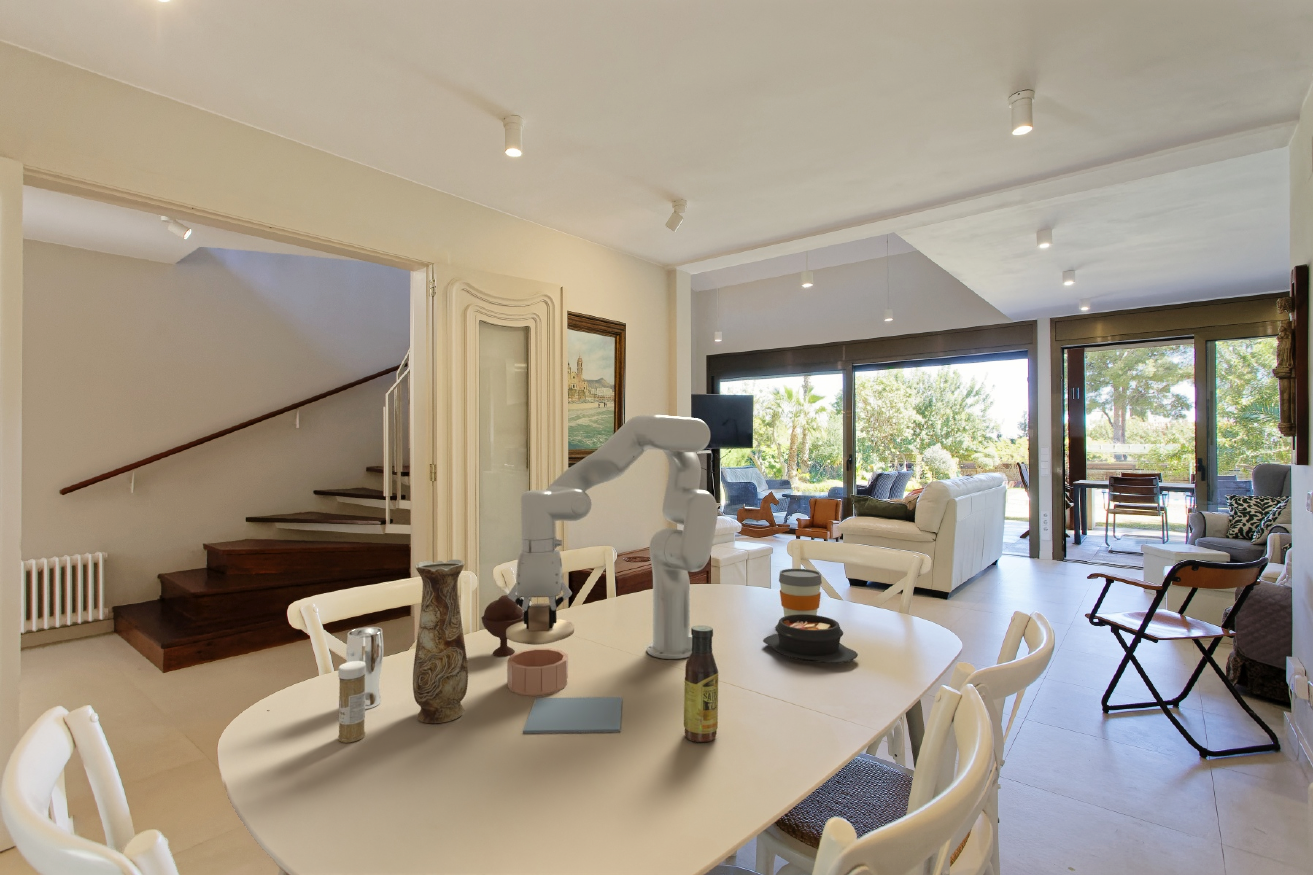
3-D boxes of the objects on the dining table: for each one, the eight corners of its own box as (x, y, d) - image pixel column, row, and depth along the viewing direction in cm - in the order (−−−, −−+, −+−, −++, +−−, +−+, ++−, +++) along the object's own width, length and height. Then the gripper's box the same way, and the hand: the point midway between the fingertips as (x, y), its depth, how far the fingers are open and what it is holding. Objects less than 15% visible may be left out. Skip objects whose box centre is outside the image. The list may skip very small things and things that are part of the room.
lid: (577, 626, 150) (576, 596, 150) (570, 647, 135) (570, 614, 135) (513, 627, 150) (512, 598, 150) (499, 649, 135) (499, 616, 135)
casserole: (747, 649, 166) (747, 617, 166) (792, 635, 178) (792, 605, 178) (829, 677, 147) (829, 640, 147) (872, 659, 159) (873, 625, 159)
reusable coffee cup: (794, 614, 199) (794, 566, 199) (829, 622, 190) (829, 572, 190) (770, 622, 191) (770, 572, 191) (806, 631, 182) (806, 579, 182)
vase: (416, 729, 120) (416, 570, 120) (409, 708, 129) (410, 560, 129) (472, 718, 124) (473, 565, 125) (462, 699, 134) (462, 556, 134)
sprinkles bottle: (334, 737, 117) (334, 664, 117) (360, 729, 120) (361, 658, 120) (342, 746, 113) (343, 670, 113) (369, 738, 116) (369, 664, 116)
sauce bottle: (707, 747, 113) (708, 635, 113) (677, 738, 116) (677, 629, 116) (724, 733, 118) (724, 626, 119) (694, 725, 122) (694, 621, 122)
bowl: (570, 673, 149) (570, 648, 149) (563, 695, 136) (563, 667, 136) (514, 674, 149) (514, 648, 149) (502, 696, 136) (502, 668, 136)
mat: (621, 699, 134) (621, 696, 134) (620, 731, 119) (620, 729, 119) (536, 700, 133) (536, 697, 133) (523, 733, 118) (523, 730, 118)
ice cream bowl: (530, 646, 168) (530, 589, 168) (516, 661, 157) (517, 600, 157) (491, 645, 169) (491, 588, 169) (475, 659, 158) (475, 599, 158)
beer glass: (390, 699, 133) (390, 628, 134) (365, 713, 127) (365, 638, 127) (364, 695, 136) (364, 625, 136) (338, 708, 129) (338, 634, 129)
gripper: (578, 541, 147) (579, 620, 147) (504, 543, 146) (506, 622, 146) (574, 547, 139) (576, 631, 139) (497, 549, 139) (498, 633, 139)
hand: (540, 625), depth 143 cm, fingers closed on lid, 4 cm apart
